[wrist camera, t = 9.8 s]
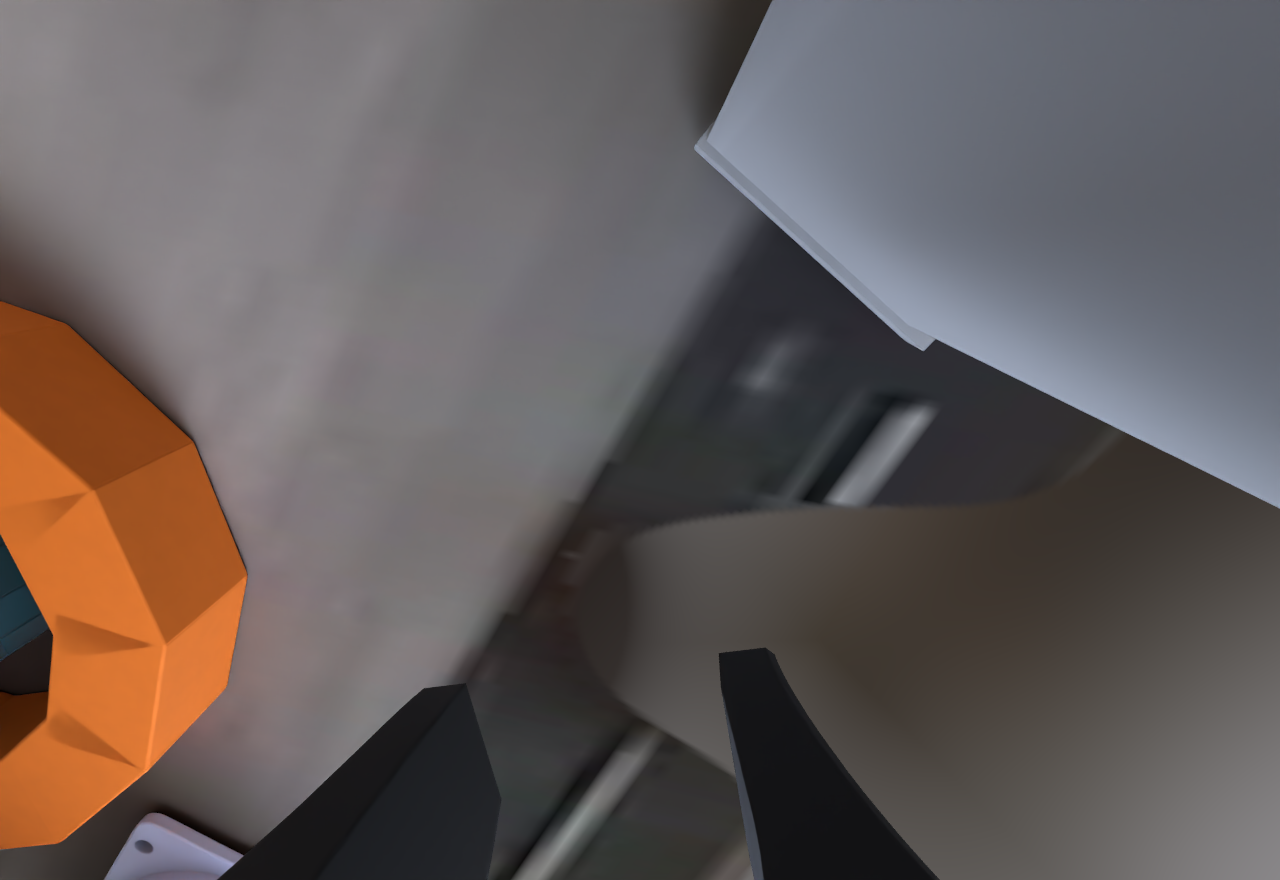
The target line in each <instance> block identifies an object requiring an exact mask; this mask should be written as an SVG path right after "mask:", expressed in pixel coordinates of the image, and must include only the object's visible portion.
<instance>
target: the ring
mask: <svg viewBox="0 0 1280 880" xmlns="http://www.w3.org/2000/svg"><path fill="white" fill-rule="evenodd" d="M0 535H1V537H2V538H3V540H4V542H5V544H6V546H7V548H8V550H9V552H10V554H11V556H12V558H13V559H14V561H15V563H16V565H17V567H18V569H19V571H20V573H21V575H22V577H23V579H24V581H25V582H26V584H27V586H28V588H29V590H30V592H31V594H32V596H33V598H34V600H35V602H36V603H37V605H38V607H39V609H40V611H41V613H42V615H43V617H44V619H45V621H46V623H47V624H48V626H49V628H50V630H51V632H52V634H53V643H52V656H51V668H50V681H49V691H48V692H40V693H32V694H25V695H17V696H14V695H11V694H8V693H5V692H1V691H0V849H10V848H20V847H29V846H39V845H48V844H58V843H60V842H61V841H63V840H65V839H66V838H67V837H68V836H69V835H71V834H72V833H73V832H74V831H75V830H77V829H78V828H79V827H80V826H81V825H83V824H84V823H85V822H86V821H88V820H89V819H90V818H91V817H92V816H94V815H95V814H96V813H97V812H98V811H100V810H101V809H102V808H103V807H105V806H106V805H107V804H108V803H109V802H111V801H112V800H113V799H114V798H115V797H117V796H118V795H119V794H120V793H122V792H123V791H124V790H125V789H126V788H128V787H129V786H130V785H131V784H132V783H134V782H135V781H136V780H137V779H139V778H140V777H141V776H142V775H143V774H145V773H146V772H147V771H148V770H149V769H150V768H151V767H152V766H153V765H154V764H155V763H156V762H157V761H158V760H159V759H160V757H161V756H162V755H163V754H164V753H165V752H166V751H167V750H168V749H169V748H170V747H171V746H172V745H173V744H174V743H175V742H176V740H177V739H178V738H179V737H180V736H181V735H182V734H183V733H184V732H185V731H186V730H187V729H188V728H189V727H190V726H191V725H192V723H193V722H194V721H195V720H196V719H197V718H198V717H199V716H200V715H201V714H202V713H203V712H204V711H205V710H206V709H207V708H208V706H209V705H210V704H211V703H212V702H213V701H214V700H215V699H216V698H217V697H218V696H219V695H220V694H221V693H222V692H223V691H224V689H225V688H226V686H227V683H228V678H229V672H230V667H231V662H232V656H233V651H234V645H235V640H236V635H237V629H238V624H239V619H240V613H241V608H242V603H243V597H244V592H245V586H246V581H247V572H246V569H245V567H244V564H243V562H242V559H241V557H240V555H239V552H238V550H237V547H236V545H235V542H234V540H233V537H232V535H231V532H230V530H229V528H228V525H227V523H226V520H225V518H224V515H223V513H222V510H221V508H220V505H219V503H218V500H217V498H216V496H215V493H214V491H213V488H212V486H211V483H210V481H209V478H208V476H207V473H206V471H205V469H204V466H203V464H202V461H201V459H200V456H199V454H198V451H197V449H196V446H195V444H194V442H193V441H192V440H191V439H190V438H189V437H188V436H187V435H186V434H185V433H184V432H182V431H181V430H180V429H179V428H178V427H177V426H176V425H175V424H174V423H173V422H172V421H171V420H170V419H168V418H167V417H166V416H165V415H164V414H163V413H162V412H161V411H160V410H159V409H158V408H157V407H156V406H155V405H153V404H152V403H151V402H150V401H149V400H148V399H147V398H146V397H145V396H144V395H143V394H142V393H141V392H139V391H138V390H137V389H136V388H135V387H134V386H133V385H132V384H131V383H130V382H129V381H128V380H127V379H125V378H124V377H123V376H122V375H121V374H120V373H119V372H118V371H117V370H116V369H115V368H114V367H113V366H112V365H110V364H109V363H108V362H107V361H106V360H105V359H104V358H103V357H102V356H101V355H100V354H99V353H98V352H96V351H95V350H94V349H93V348H92V347H91V346H90V345H89V344H88V343H87V342H86V341H85V340H84V339H82V338H81V337H80V336H79V335H78V334H77V333H76V332H75V331H74V330H73V329H72V328H71V327H70V326H68V325H67V324H65V323H63V322H60V321H57V320H54V319H51V318H48V317H45V316H43V315H40V314H37V313H34V312H31V311H28V310H25V309H22V308H19V307H17V306H14V305H11V304H8V303H5V302H2V301H0Z"/></svg>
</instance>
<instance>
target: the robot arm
mask: <svg viewBox="0 0 1280 880" xmlns="http://www.w3.org/2000/svg"><path fill="white" fill-rule="evenodd" d="M719 663H720V680H721V690H722V696H723V702H724V708H725V714H726V719H727V725H728V732H729V738H730V744H731V750H732V755H733V762H734V768H735V773H736V779H737V785H738V791H739V797H740V803H741V809H742V815H743V821H744V827H745V833H746V839H747V845H748V851H749V857H750V861H751V866H752V871H753V876H754V880H939V879H938V878H937V876H935V874H934V873H933V872H932V871H931V870H930V869H929V868H928V867H927V866H926V865H925V864H924V863H923V861H922V860H921V859H920V858H919V857H918V856H917V854H916V853H915V852H914V851H913V850H912V849H911V848H910V847H909V845H908V844H907V843H906V842H905V841H904V840H903V839H902V837H901V836H900V835H899V834H898V833H897V832H896V831H895V829H894V828H893V827H892V826H891V825H890V823H889V822H888V821H887V820H886V819H885V817H884V816H883V815H882V814H881V812H880V811H879V810H878V809H877V808H876V807H875V805H874V804H873V803H872V802H871V800H870V799H869V798H868V797H867V796H866V794H865V793H864V792H863V791H862V789H861V788H860V787H859V785H858V784H857V783H856V782H855V780H854V779H853V778H852V776H851V775H850V774H849V773H848V771H847V770H846V769H845V767H844V766H843V764H842V763H841V762H840V760H839V759H838V758H837V756H836V755H835V754H834V752H833V751H832V749H831V748H830V747H829V745H828V744H827V743H826V741H825V740H824V739H823V737H822V736H821V734H820V733H819V731H818V730H817V728H816V727H815V726H814V724H813V723H812V721H811V720H810V718H809V717H808V715H807V714H806V712H805V710H804V709H803V707H802V705H801V704H800V702H799V701H798V699H797V698H796V696H795V694H794V692H793V691H792V689H791V687H790V686H789V684H788V682H787V680H786V679H785V676H784V675H783V673H782V671H781V669H780V666H779V664H778V662H777V660H776V657H775V655H774V654H773V653H772V652H771V651H769V650H768V649H766V648H759V649H750V650H742V651H733V652H725V653H719ZM500 804H501V797H500V794H499V790H498V787H497V784H496V781H495V777H494V774H493V771H492V768H491V764H490V761H489V758H488V755H487V751H486V748H485V745H484V742H483V738H482V735H481V732H480V729H479V725H478V722H477V719H476V716H475V712H474V709H473V706H472V702H471V699H470V696H469V693H468V689H467V686H466V684H458V685H449V686H441V687H432V688H424V689H423V690H421V691H420V692H419V693H418V694H417V695H416V696H414V697H413V698H412V699H411V700H410V701H409V702H408V703H407V704H405V705H404V706H403V707H402V708H401V709H400V710H399V711H398V712H397V713H396V714H395V715H394V716H393V717H392V718H390V719H389V720H388V721H387V722H386V723H385V724H384V725H383V726H382V727H381V728H380V729H379V730H378V731H377V732H376V733H375V734H374V735H373V736H372V737H371V738H370V739H369V740H368V741H367V742H366V743H365V744H363V745H362V746H361V747H360V748H359V749H358V750H357V751H356V752H355V753H354V754H353V755H352V756H351V757H350V758H349V759H348V760H347V761H346V762H345V763H344V764H343V765H342V766H341V767H340V768H339V769H337V770H336V771H335V772H334V773H333V774H332V775H331V776H330V777H329V778H328V779H327V780H326V781H325V782H324V783H323V784H322V785H321V786H320V787H319V788H318V789H316V790H315V791H314V792H313V793H312V794H311V795H310V796H309V797H308V798H307V799H306V800H305V801H304V802H303V803H302V804H301V805H300V806H299V807H298V808H296V809H295V810H294V811H293V812H292V813H291V814H290V815H289V816H288V817H287V818H285V819H284V820H283V821H282V822H281V823H280V824H279V825H278V826H276V827H275V828H274V829H273V830H272V831H271V832H270V833H269V834H268V835H266V836H265V837H264V838H263V839H262V840H261V841H260V842H259V843H257V844H256V845H255V846H254V847H253V848H252V849H251V850H250V851H249V852H247V853H246V854H245V855H242V854H240V853H238V852H236V851H234V850H232V849H230V848H228V847H226V846H224V845H222V844H220V843H218V842H216V841H215V840H213V839H211V838H209V837H207V836H205V835H203V834H201V833H199V832H197V831H195V830H193V829H191V828H189V827H187V826H185V825H183V824H182V823H180V822H178V821H176V820H174V819H172V818H170V817H168V816H166V815H163V814H161V813H150V814H147V815H146V816H145V817H144V818H143V819H142V820H141V821H140V822H139V823H138V824H137V825H136V827H135V828H134V830H133V831H132V833H131V835H130V837H129V838H128V840H127V842H126V843H125V845H124V847H123V848H122V850H121V852H120V853H119V855H118V857H117V859H116V860H115V862H114V864H113V865H112V867H111V869H110V870H109V872H108V874H107V875H106V877H105V879H104V880H487V879H488V874H489V868H490V863H491V858H492V852H493V847H494V842H495V835H496V829H497V823H498V817H499V810H500Z"/></svg>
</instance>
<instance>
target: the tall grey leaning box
mask: <svg viewBox="0 0 1280 880" xmlns="http://www.w3.org/2000/svg"><path fill="white" fill-rule="evenodd" d="M694 150H695V151H696V152H698V153H699V154H700V155H701V156H702V157H703V158H704V159H705V160H706V161H707V162H709V163H710V164H711V165H712V166H713V167H714V168H715V169H716V170H717V171H718V172H720V173H721V174H722V175H723V176H724V177H725V178H726V179H727V180H728V181H729V182H731V183H732V184H733V185H734V186H735V187H736V188H737V189H738V190H739V191H741V192H742V193H743V194H744V195H745V196H746V197H747V198H748V199H749V200H750V201H752V202H753V203H754V204H755V205H756V206H757V207H758V208H759V209H760V210H761V211H763V212H764V213H765V214H766V215H767V216H768V217H769V218H770V219H771V220H772V221H774V222H775V223H776V224H777V225H778V226H779V227H780V228H781V229H782V230H784V231H785V232H786V233H787V234H788V235H789V236H790V237H791V238H792V239H793V240H795V241H796V242H797V243H798V244H799V245H800V246H801V247H802V248H803V249H804V250H806V251H807V252H808V253H809V254H810V255H811V256H812V257H813V258H814V259H815V260H817V261H818V262H819V263H820V264H821V265H822V266H823V267H824V268H825V269H827V270H828V271H829V272H830V273H831V274H832V275H833V276H834V277H835V278H836V279H838V280H839V281H840V282H841V283H842V284H843V285H844V286H845V287H846V288H847V289H849V290H850V291H851V292H852V293H853V294H854V295H855V296H856V297H857V298H858V299H860V300H861V301H862V302H863V303H864V304H865V305H866V306H867V307H868V308H869V309H871V310H872V311H873V312H874V313H875V314H876V315H877V316H878V317H879V318H881V319H882V320H883V321H884V322H885V323H886V324H887V325H888V326H889V327H890V328H892V329H893V330H894V331H895V332H896V333H897V334H898V335H899V336H900V337H901V338H903V339H904V340H905V341H906V342H908V343H910V344H912V345H913V346H915V347H917V348H919V349H921V350H922V351H924V350H925V349H926V348H927V347H928V346H929V345H930V344H931V343H932V342H933V341H934V340H935V339H937V340H939V341H941V342H943V343H945V344H947V345H949V346H951V347H953V348H956V349H958V350H960V351H962V352H964V353H966V354H968V355H970V356H972V357H974V358H976V359H978V360H980V361H982V362H984V363H986V364H988V365H990V366H992V367H994V368H996V369H998V370H1000V371H1002V372H1004V373H1006V374H1008V375H1010V376H1012V377H1014V378H1016V379H1018V380H1021V381H1023V382H1025V383H1027V384H1029V385H1031V386H1033V387H1035V388H1037V389H1039V390H1041V391H1043V392H1045V393H1047V394H1049V395H1051V396H1053V397H1055V398H1057V399H1059V400H1061V401H1063V402H1065V403H1067V404H1069V405H1071V406H1073V407H1075V408H1077V409H1079V410H1081V411H1083V412H1085V413H1088V414H1090V415H1092V416H1094V417H1096V418H1098V419H1100V420H1102V421H1104V422H1106V423H1108V424H1110V425H1112V426H1114V427H1116V428H1118V429H1120V430H1122V431H1124V432H1126V433H1128V434H1130V435H1132V436H1134V437H1136V438H1138V439H1140V440H1142V441H1144V442H1147V443H1148V444H1151V445H1153V446H1155V447H1157V448H1159V449H1161V450H1163V451H1165V452H1167V453H1169V454H1171V455H1173V456H1175V457H1177V458H1179V459H1181V460H1183V461H1185V462H1187V463H1189V464H1191V465H1193V466H1195V467H1197V468H1200V469H1201V470H1203V471H1205V472H1208V473H1209V474H1211V475H1213V476H1216V477H1218V478H1219V479H1222V480H1224V481H1226V482H1228V483H1230V484H1232V485H1234V486H1236V487H1238V488H1240V489H1242V490H1244V491H1246V492H1248V493H1250V494H1252V495H1254V496H1256V497H1258V498H1260V499H1262V500H1264V501H1266V502H1268V503H1270V504H1272V505H1274V506H1276V507H1278V508H1280V0H772V2H771V4H770V7H769V9H768V11H767V13H766V15H765V17H764V19H763V21H762V24H761V26H760V28H759V30H758V32H757V34H756V36H755V39H754V41H753V43H752V45H751V47H750V49H749V51H748V53H747V56H746V58H745V60H744V62H743V64H742V66H741V68H740V70H739V73H738V75H737V77H736V79H735V81H734V83H733V85H732V88H731V90H730V92H729V94H728V96H727V98H726V100H725V102H724V105H723V107H722V109H721V111H720V113H719V115H718V116H717V117H716V119H715V120H714V121H713V123H712V124H711V125H710V126H709V128H708V129H707V130H706V132H705V133H704V134H703V135H702V137H701V138H700V139H699V140H698V142H697V143H696V145H695V148H694Z"/></svg>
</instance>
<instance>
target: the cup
mask: <svg viewBox="0 0 1280 880" xmlns="http://www.w3.org/2000/svg"><path fill="white" fill-rule="evenodd" d="M48 629H50V628H49V626H48V624H47V623H46V621H45V619H44V617H43V615H42V613H41V611H40V609H39V607H38V605H37V603H36V602H35V600H34V598H33V596H32V594H31V592H30V590H29V588H28V586H27V584H26V582H25V581H24V579H23V577H22V575H21V573H20V571H19V569H18V567H17V565H16V563H15V561H14V559H13V558H12V556H11V554H10V552H9V550H8V548H7V546H6V544H5V542H4V540H3V538H2V537H1V535H0V661H2V660H3V659H5V658H6V657H8V656H9V655H11V654H12V653H14V652H15V651H17V650H18V649H20V648H21V647H23V646H24V645H26V644H27V643H29V642H30V641H32V640H33V639H35V638H36V637H38V636H39V635H41V634H42V633H44V632H45V631H47V630H48Z"/></svg>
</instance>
